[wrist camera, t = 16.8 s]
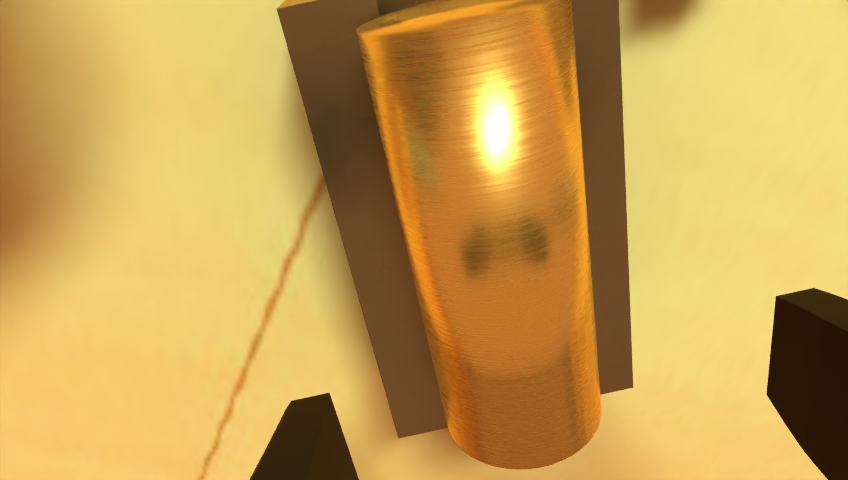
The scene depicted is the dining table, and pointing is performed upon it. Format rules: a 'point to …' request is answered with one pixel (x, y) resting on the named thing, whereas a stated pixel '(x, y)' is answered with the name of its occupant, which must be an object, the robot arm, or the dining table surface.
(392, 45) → the axle
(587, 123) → the v block
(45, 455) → the dining table surface
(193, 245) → the dining table surface
